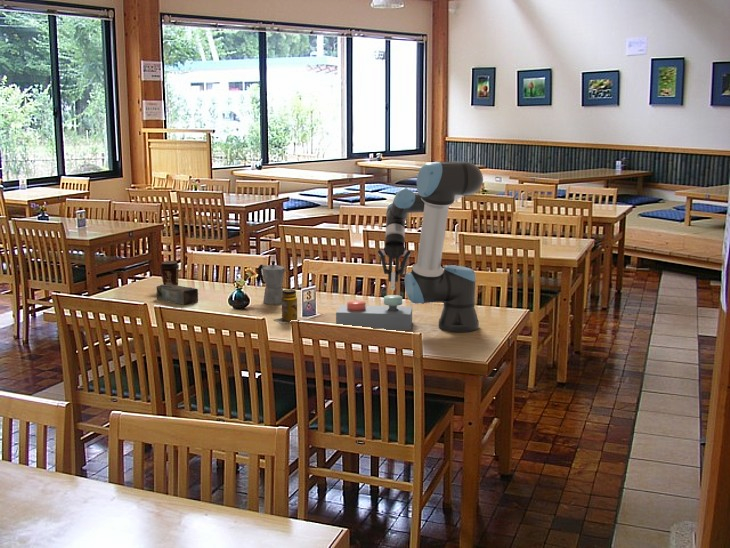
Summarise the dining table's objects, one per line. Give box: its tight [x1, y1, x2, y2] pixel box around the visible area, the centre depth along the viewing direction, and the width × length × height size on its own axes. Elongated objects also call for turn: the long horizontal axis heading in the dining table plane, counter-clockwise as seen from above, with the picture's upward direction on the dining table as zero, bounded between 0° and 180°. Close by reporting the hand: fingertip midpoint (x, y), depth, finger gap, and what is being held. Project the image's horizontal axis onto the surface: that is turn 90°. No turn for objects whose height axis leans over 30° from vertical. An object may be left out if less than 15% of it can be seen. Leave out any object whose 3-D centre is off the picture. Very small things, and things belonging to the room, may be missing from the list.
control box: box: [335, 304, 413, 331], centre depth 313 cm, size 28×12×6 cm, turn 84°
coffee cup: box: [159, 260, 180, 286], centre depth 372 cm, size 9×8×13 cm
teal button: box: [383, 294, 403, 311], centre depth 311 cm, size 7×7×8 cm
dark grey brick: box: [156, 283, 199, 306], centre depth 352 cm, size 8×19×7 cm, turn 51°
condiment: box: [273, 288, 300, 324], centre depth 319 cm, size 7×8×12 cm
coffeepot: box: [257, 260, 286, 306], centre depth 349 cm, size 15×9×18 cm, turn 54°
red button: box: [346, 300, 367, 311], centre depth 313 cm, size 7×7×8 cm
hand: (392, 288), depth 310 cm, fingers closed
